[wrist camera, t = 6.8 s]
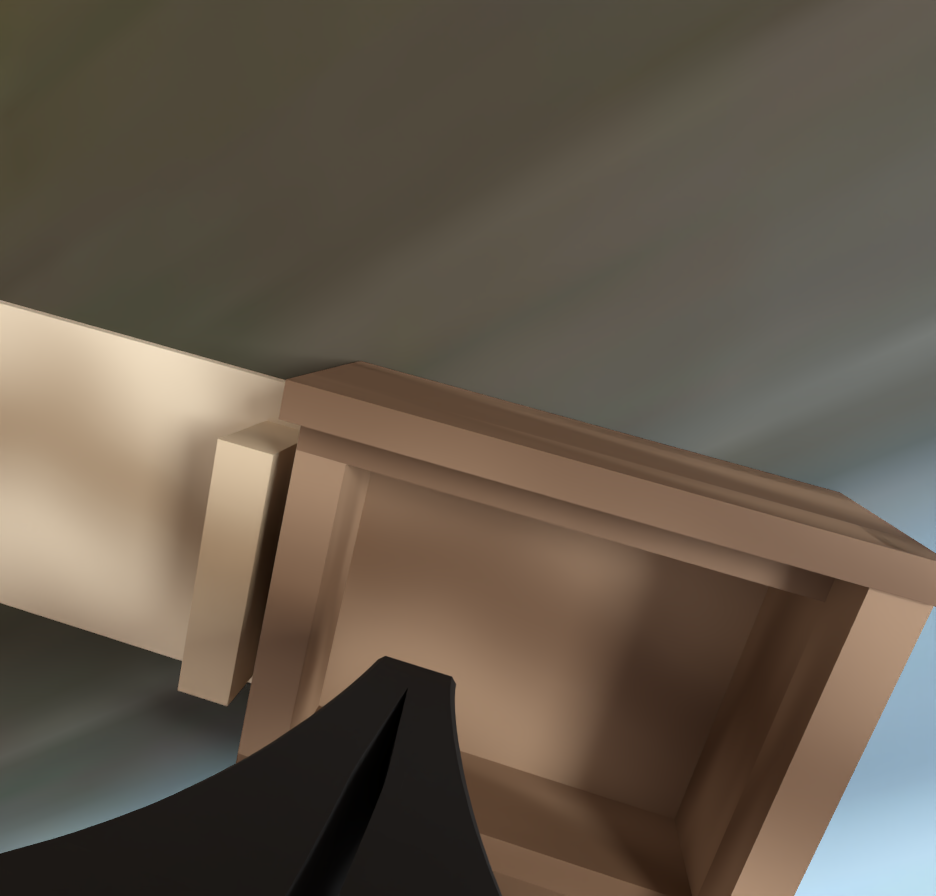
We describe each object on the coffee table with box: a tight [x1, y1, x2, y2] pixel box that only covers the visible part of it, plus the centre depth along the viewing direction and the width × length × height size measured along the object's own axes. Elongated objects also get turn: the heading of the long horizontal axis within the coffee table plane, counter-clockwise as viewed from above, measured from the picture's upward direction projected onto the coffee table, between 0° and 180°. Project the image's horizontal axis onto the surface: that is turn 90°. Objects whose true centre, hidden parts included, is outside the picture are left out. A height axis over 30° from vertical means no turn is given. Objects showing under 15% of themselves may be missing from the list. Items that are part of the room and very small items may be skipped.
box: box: [236, 361, 936, 896], centre depth 13 cm, size 10×11×4 cm
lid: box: [0, 300, 301, 706], centre depth 15 cm, size 8×10×3 cm
